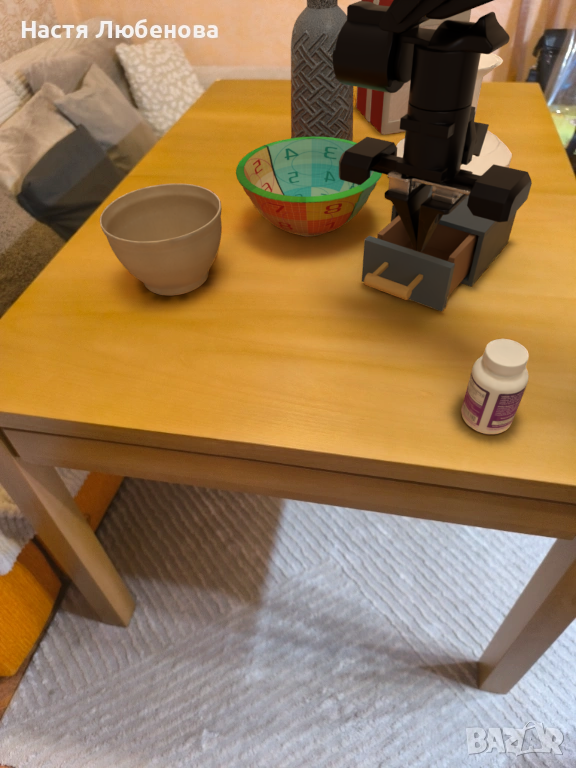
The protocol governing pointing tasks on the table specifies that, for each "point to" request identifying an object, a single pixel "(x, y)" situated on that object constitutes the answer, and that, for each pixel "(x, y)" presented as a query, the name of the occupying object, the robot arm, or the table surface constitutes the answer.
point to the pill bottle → (496, 387)
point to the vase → (319, 75)
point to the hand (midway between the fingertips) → (419, 249)
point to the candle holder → (492, 146)
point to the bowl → (303, 184)
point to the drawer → (418, 263)
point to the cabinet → (489, 233)
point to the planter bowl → (165, 235)
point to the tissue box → (392, 106)
